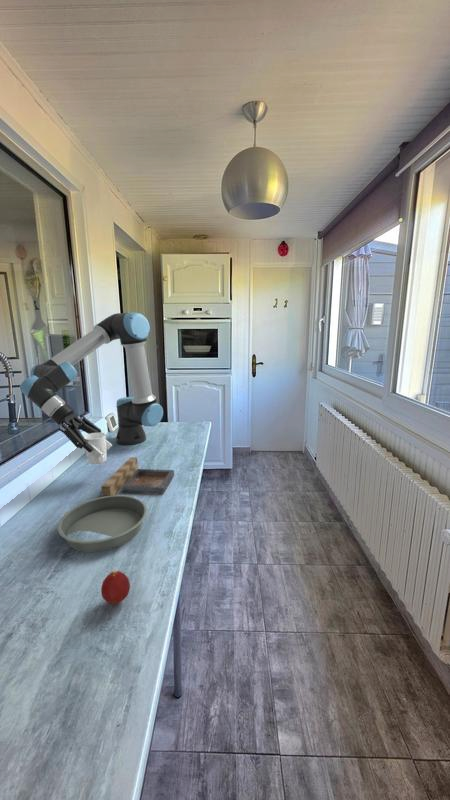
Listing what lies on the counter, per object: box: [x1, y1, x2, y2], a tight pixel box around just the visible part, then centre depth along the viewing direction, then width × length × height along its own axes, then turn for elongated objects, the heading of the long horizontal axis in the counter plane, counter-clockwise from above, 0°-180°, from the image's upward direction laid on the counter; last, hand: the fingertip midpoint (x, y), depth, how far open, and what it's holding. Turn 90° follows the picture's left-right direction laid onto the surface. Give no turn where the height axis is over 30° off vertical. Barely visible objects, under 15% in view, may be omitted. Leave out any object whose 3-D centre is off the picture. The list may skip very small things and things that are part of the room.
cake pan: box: [57, 494, 148, 553], centre depth 99 cm, size 25×25×4 cm
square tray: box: [122, 468, 175, 495], centre depth 127 cm, size 15×15×2 cm
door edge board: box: [101, 456, 139, 497], centre depth 128 cm, size 26×3×5 cm, turn 174°
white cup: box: [83, 432, 108, 465], centre depth 126 cm, size 8×8×10 cm
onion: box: [100, 570, 131, 605], centre depth 72 cm, size 6×6×8 cm
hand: (104, 451), depth 126 cm, fingers closed on white cup, 8 cm apart
